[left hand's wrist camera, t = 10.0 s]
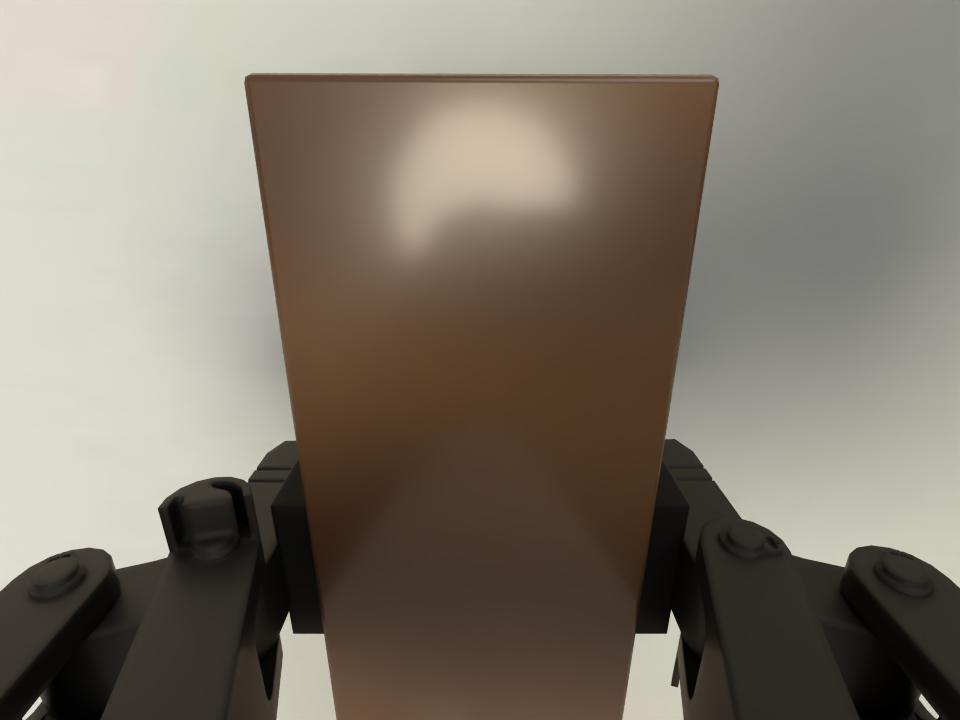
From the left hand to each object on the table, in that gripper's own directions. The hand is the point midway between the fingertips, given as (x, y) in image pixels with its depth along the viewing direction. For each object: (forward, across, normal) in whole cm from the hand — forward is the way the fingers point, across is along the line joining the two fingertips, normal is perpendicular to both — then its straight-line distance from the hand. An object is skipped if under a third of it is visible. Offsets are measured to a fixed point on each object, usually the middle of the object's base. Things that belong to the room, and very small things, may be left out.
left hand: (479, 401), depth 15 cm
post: (+1, 0, -32) cm, 32 cm away
